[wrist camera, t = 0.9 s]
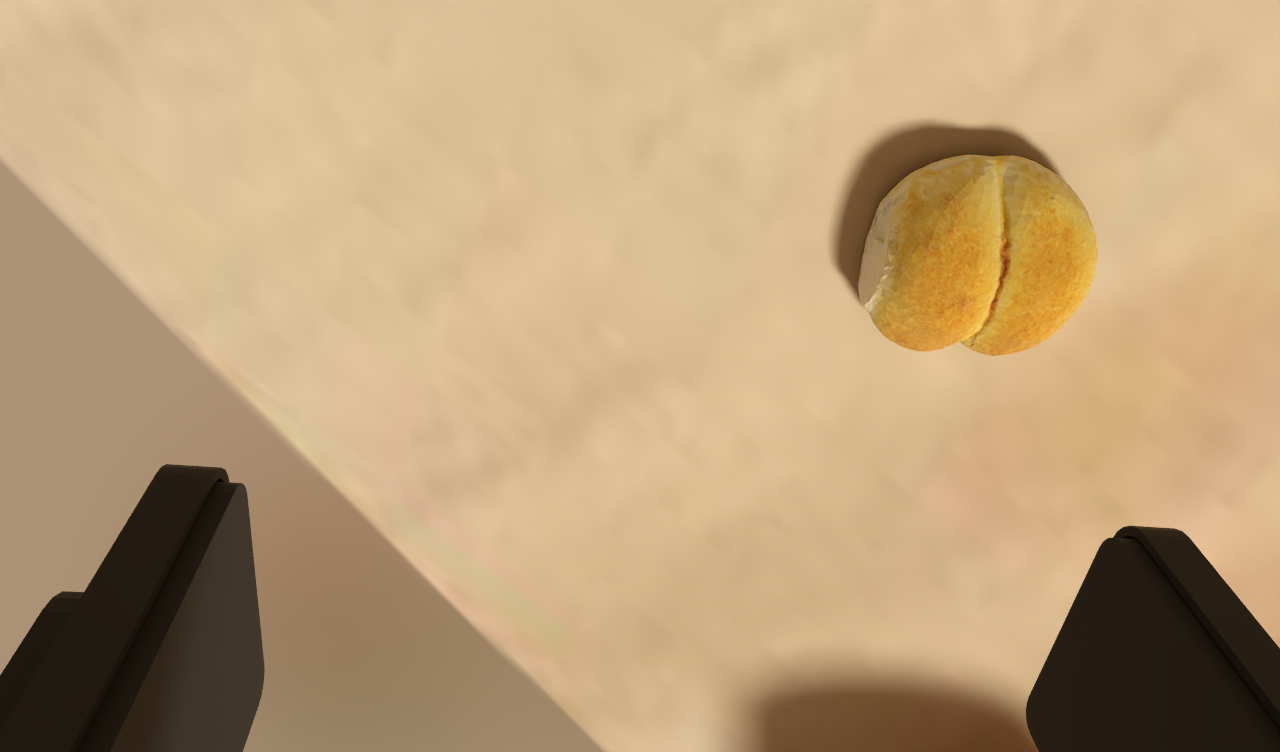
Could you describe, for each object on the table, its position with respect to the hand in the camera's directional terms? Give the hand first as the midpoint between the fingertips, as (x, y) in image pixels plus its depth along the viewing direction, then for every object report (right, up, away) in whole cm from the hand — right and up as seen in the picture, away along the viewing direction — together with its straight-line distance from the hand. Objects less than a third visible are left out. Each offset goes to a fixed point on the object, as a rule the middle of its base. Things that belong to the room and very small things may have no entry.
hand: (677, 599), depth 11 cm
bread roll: (+13, +8, +29) cm, 33 cm away
